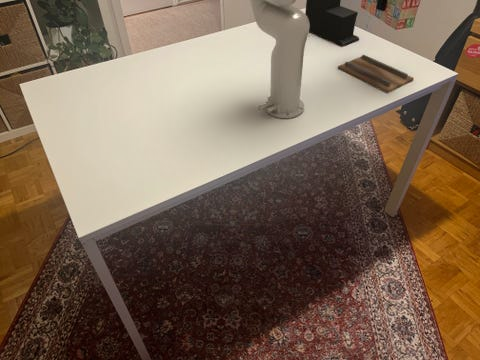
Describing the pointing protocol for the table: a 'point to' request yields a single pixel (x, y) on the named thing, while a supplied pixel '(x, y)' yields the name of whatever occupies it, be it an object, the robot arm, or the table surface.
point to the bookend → (331, 21)
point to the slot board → (376, 73)
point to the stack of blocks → (394, 12)
